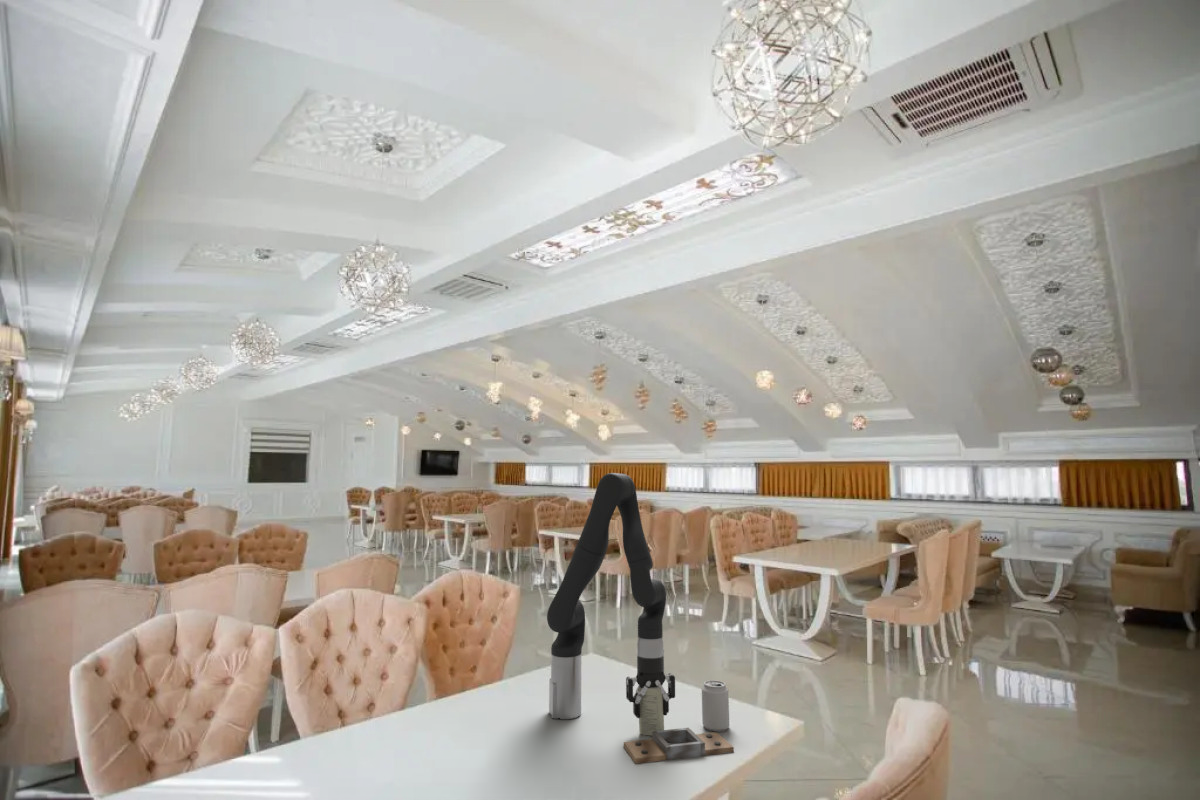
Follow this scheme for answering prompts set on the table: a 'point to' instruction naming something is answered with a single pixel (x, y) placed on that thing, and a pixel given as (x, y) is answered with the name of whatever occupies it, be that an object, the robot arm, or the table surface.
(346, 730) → the table surface
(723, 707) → the can
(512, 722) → the table surface
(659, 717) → the skincare box
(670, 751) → the mounting bracket
